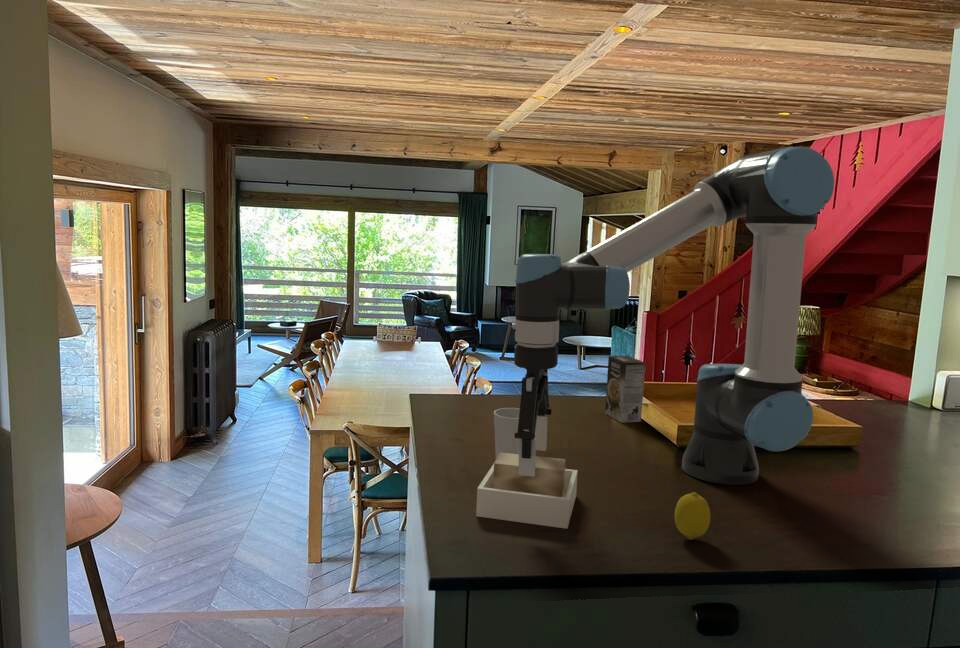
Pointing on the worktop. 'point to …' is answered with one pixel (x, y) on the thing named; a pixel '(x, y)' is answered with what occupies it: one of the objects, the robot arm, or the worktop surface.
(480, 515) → the white open box
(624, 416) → the coffee box
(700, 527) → the lemon
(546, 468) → the beige rectangular block
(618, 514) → the worktop surface
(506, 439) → the cup
